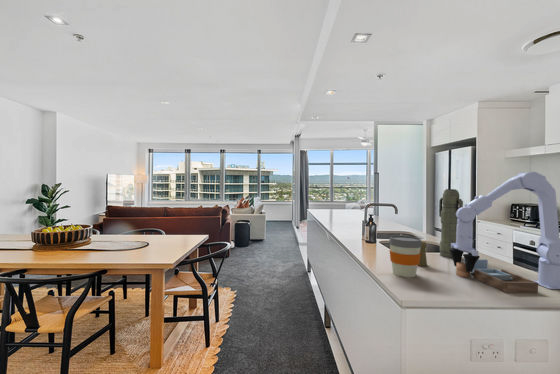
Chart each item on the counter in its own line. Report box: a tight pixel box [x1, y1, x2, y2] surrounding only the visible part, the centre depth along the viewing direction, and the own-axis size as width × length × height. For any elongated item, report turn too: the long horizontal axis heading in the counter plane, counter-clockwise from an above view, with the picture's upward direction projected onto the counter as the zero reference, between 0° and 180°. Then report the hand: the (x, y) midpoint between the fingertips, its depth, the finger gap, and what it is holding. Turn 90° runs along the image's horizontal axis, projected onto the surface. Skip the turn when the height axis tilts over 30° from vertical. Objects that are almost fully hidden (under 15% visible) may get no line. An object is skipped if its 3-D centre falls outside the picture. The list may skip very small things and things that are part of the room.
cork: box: [417, 240, 428, 267], centre depth 140 cm, size 6×6×11 cm
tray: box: [463, 258, 513, 280], centre depth 123 cm, size 14×10×4 cm
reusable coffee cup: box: [388, 234, 422, 278], centre depth 125 cm, size 13×13×15 cm
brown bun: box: [455, 261, 471, 278], centre depth 125 cm, size 5×5×5 cm
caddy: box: [473, 269, 539, 294], centre depth 114 cm, size 16×12×4 cm
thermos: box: [438, 188, 464, 259], centre depth 157 cm, size 9×12×35 cm
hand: (463, 268), depth 125 cm, fingers open, 7 cm apart
